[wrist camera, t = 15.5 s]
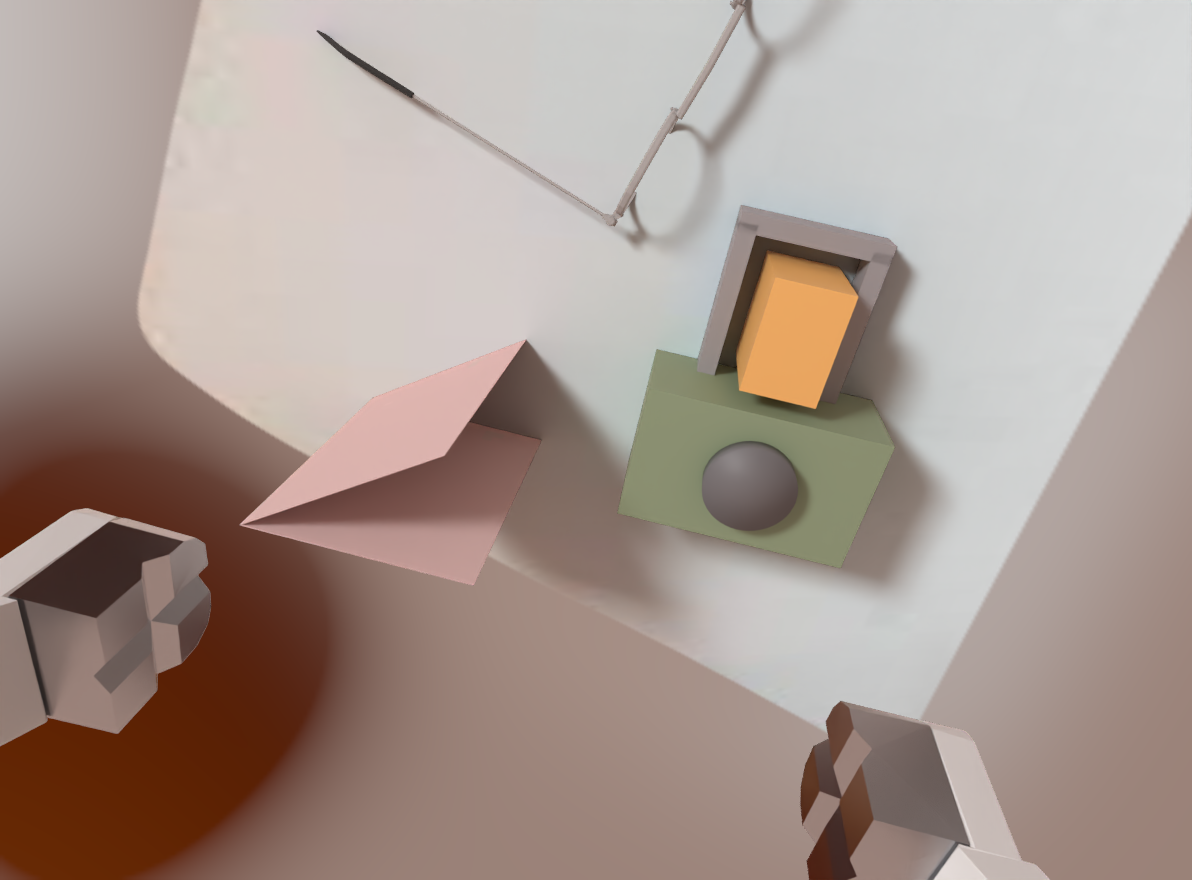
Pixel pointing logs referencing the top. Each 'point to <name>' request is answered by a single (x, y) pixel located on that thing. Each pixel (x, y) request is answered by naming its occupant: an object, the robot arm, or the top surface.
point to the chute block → (793, 329)
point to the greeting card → (410, 477)
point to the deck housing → (762, 425)
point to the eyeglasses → (653, 148)
